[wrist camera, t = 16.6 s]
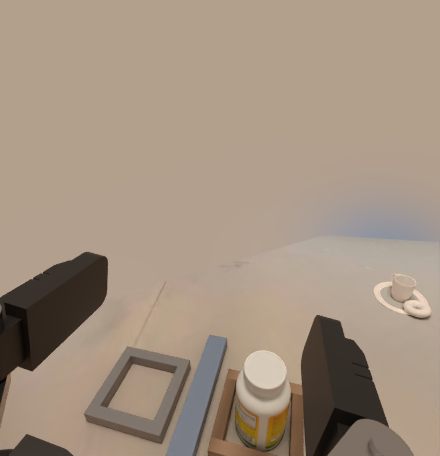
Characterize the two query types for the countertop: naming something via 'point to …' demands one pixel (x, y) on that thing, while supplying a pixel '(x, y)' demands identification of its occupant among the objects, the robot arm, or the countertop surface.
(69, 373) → the countertop surface
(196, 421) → the door sill
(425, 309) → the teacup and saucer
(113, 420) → the holder open
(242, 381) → the supplement bottle
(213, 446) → the holder
